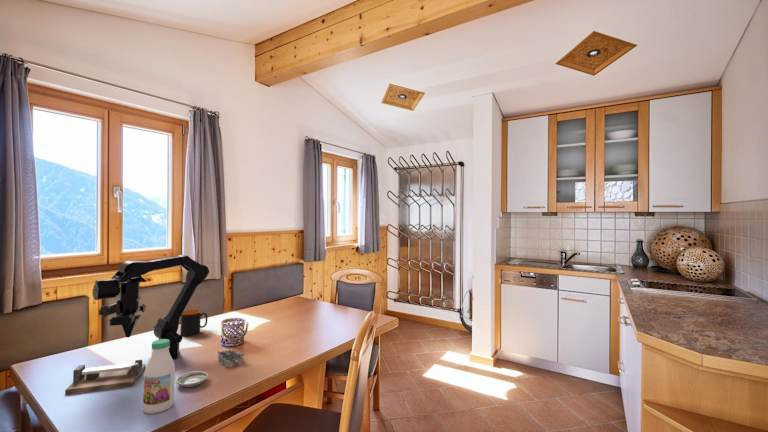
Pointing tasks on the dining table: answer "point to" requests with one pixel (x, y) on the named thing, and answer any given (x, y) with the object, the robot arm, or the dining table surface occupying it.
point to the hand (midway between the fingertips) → (128, 337)
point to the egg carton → (230, 358)
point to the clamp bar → (108, 368)
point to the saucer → (191, 378)
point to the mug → (191, 323)
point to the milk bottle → (159, 379)
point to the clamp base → (104, 379)
